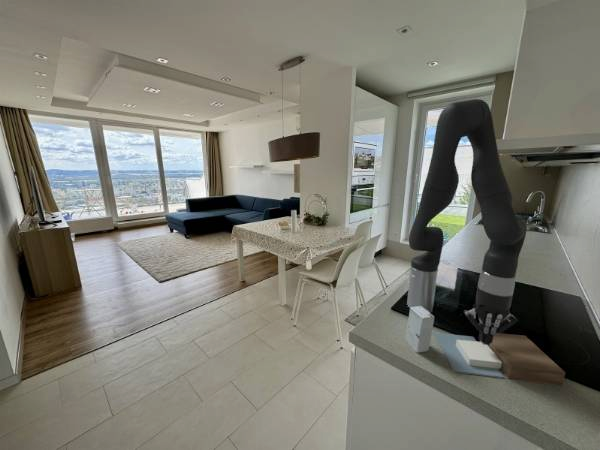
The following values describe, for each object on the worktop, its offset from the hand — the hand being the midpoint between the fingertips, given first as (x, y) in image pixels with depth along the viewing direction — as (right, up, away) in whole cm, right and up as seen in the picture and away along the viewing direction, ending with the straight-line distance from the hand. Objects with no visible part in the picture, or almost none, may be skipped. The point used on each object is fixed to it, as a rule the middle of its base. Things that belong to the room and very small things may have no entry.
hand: (484, 342), depth 69 cm
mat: (-4, -4, +3) cm, 7 cm away
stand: (+9, -5, 0) cm, 10 cm away
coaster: (-1, -4, +1) cm, 5 cm away
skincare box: (-17, -4, +6) cm, 18 cm away
